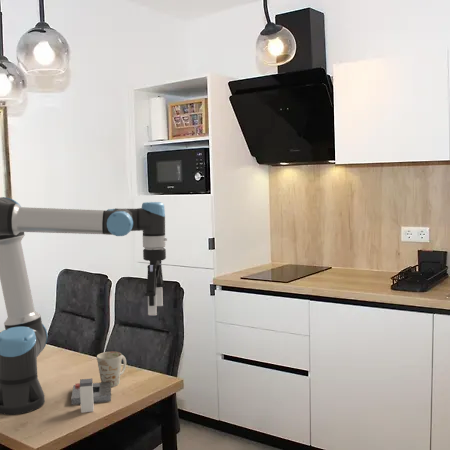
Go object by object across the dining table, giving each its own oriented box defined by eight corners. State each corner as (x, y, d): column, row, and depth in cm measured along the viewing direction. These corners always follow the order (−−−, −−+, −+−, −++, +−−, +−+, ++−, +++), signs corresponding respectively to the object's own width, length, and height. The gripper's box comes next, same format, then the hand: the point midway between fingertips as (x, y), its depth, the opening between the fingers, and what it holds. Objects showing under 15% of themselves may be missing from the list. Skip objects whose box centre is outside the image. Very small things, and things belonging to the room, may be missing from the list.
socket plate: (71, 404, 180) (71, 396, 180) (73, 391, 192) (73, 383, 191) (110, 401, 182) (110, 393, 182) (110, 387, 194) (110, 380, 194)
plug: (81, 412, 174) (79, 383, 173) (81, 408, 177) (80, 379, 177) (93, 411, 175) (92, 382, 174) (93, 406, 178) (92, 378, 177)
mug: (92, 386, 196) (91, 357, 195) (116, 374, 207) (115, 346, 206) (112, 389, 192) (111, 360, 191) (135, 377, 203) (134, 349, 202)
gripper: (159, 253, 182) (161, 319, 184) (170, 243, 207) (171, 302, 209) (136, 253, 182) (137, 319, 184) (149, 243, 207) (150, 302, 209)
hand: (155, 310), depth 196 cm, fingers open, 13 cm apart
